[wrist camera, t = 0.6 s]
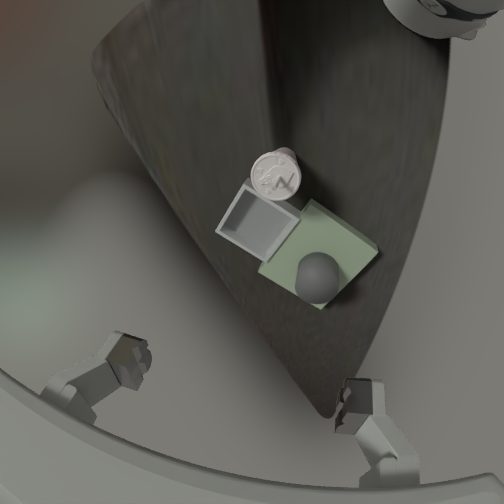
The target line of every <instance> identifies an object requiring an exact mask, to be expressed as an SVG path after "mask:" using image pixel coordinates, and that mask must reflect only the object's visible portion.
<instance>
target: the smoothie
mask: <svg viewBox="0 0 504 504" xmlns="http://www.w3.org/2000/svg"><path fill="white" fill-rule="evenodd" d="M251 181H252V185H253V187H254V189H255V190H256V191H257V192H258V193H259V194H260V195H261V196H262V197H264V198H266V199H269V200H272V201H282V200H286V199H288V198H290V197H291V196H293V195H294V194H295V193H296V191H297V190H298V188H299V185H300V183H301V171H300V168H299V166H298V164H297V159H296V155H295V153H294V152H293V151H292V150H291V149H289V148H279V149H277V150H276V151H274V152H270V153H266V154H264V155H262V156H261V157H260V158H258V159H257V160H256V162H255V163H254V165H253V168H252V171H251Z"/></svg>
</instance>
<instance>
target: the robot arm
mask: <svg viewBox="0 0 504 504" xmlns="http://www.w3.org/2000/svg"><path fill="white" fill-rule="evenodd" d="M383 1H384V3H385V5H386V6H387V8H388V9H389V11H390V12H391V13H392V14H393V16H394V17H395V18H396V19H397V20H398V21H400V22H401V23H402V24H403V25H404V26H406V27H407V28H409V29H410V30H412V31H414V32H416V33H418V34H420V35H423V36H426V37H430V38H436V39H444V38H450V37H458V38H461V39H465V40H472V39H474V38H475V36H476V33H477V30H478V29H480V28H482V27H484V26H485V25H486V23H485V21H486V18H489V17H491V16H492V15H494V14H495V13H497V12H498V11H499V10H502V9H504V0H383ZM147 346H148V343H147V340H145V339H141V338H138V337H135V336H131V335H128V334H126V333H122V332H119V331H114V332H112V334H111V335H110V336H109V338H108V339H107V341H106V342H105V344H104V345H103V347H102V348H101V349H100V351H99V352H98V354H97V355H96V356H91V357H89V358H87V359H85V360H83V361H81V362H79V363H77V364H75V365H73V366H71V367H69V368H67V369H65V370H63V371H61V372H59V373H57V374H55V375H53V377H52V378H51V379H50V381H49V382H48V384H47V385H46V387H45V388H44V390H43V391H42V392H41V394H40V395H38V394H37V393H35V392H34V391H32V390H31V389H29V388H27V387H26V386H24V385H23V384H22V383H20V382H19V381H17V380H16V379H14V378H13V377H11V376H10V375H9V374H7V373H6V372H5V371H3V370H2V369H1V368H0V504H504V484H503V483H502V482H501V481H500V480H499V479H498V477H497V476H495V475H494V474H493V473H483V474H479V475H474V476H470V477H465V478H460V479H455V480H449V481H442V482H436V483H428V484H420V481H419V480H420V478H419V455H418V454H417V452H416V451H415V450H414V448H413V447H412V446H411V444H410V443H409V441H408V440H407V439H406V437H405V436H404V435H403V433H402V432H401V430H400V429H399V428H398V426H397V425H396V424H395V422H394V421H393V420H392V418H391V417H390V416H389V415H388V416H387V415H386V400H385V386H384V381H383V380H376V379H367V378H352V377H346V378H345V380H344V382H343V387H342V388H340V391H339V394H338V397H337V404H336V410H337V412H338V415H337V417H336V419H335V432H334V433H340V434H352V435H354V436H355V438H356V440H357V442H358V444H359V445H360V447H361V449H362V451H363V453H364V455H365V457H366V459H367V461H368V463H369V464H370V466H371V469H370V470H369V471H368V472H366V473H365V474H364V475H363V476H361V477H360V479H359V488H347V487H324V486H323V487H322V486H311V485H300V484H291V483H284V482H276V481H270V480H263V479H258V478H252V477H247V476H242V475H237V474H232V473H228V472H223V471H219V470H215V469H211V468H207V467H203V466H200V465H196V464H193V463H190V462H186V461H183V460H180V459H176V458H173V457H170V456H167V455H164V454H162V453H159V452H156V451H153V450H150V449H148V448H145V447H142V446H140V445H137V444H135V443H132V442H130V441H127V440H125V439H123V438H120V437H118V436H116V435H113V434H111V433H109V432H107V431H105V430H102V429H100V428H98V427H96V426H94V425H93V424H94V422H95V420H96V418H97V416H96V414H95V413H94V411H93V410H92V409H91V407H92V406H93V405H95V404H96V403H97V402H99V401H100V400H102V399H103V398H105V397H106V396H108V395H109V394H111V393H112V392H114V391H115V390H117V389H118V388H119V387H121V386H124V387H127V388H130V389H133V390H136V391H137V390H138V388H139V387H140V385H141V383H142V381H143V374H144V373H146V372H147V371H148V370H149V368H150V366H151V362H152V355H151V352H150V351H149V350H148V349H147ZM120 385H121V386H120Z"/></svg>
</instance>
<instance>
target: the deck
mask: <svg viewBox="0 0 504 504" xmlns="http://www.w3.org/2000/svg"><path fill="white" fill-rule="evenodd" d="M215 232H217V233H218V234H220V235H222V236H223V237H225V238H226V239H228V240H230V241H231V242H233V243H235V244H236V245H238V246H239V247H241V248H243V249H244V250H246V251H248V252H249V253H251V254H252V255H254V256H256V257H257V258H259V259H261V260H262V261H263V262H262V263H261V265H260V268H259V271H258V272H259V273H261V274H262V275H264V276H266V277H267V278H269V279H271V280H272V281H274V282H276V283H277V284H279V285H281V286H282V287H284V288H285V289H287V290H289V291H290V292H292V293H294V294H295V295H297V296H299V297H300V298H301V299H302V300H304V301H305V302H308V303H311V304H312V305H314V306H316V307H317V308H319V309H322V308H323V307H324V306H325V305H326V304H327V303H328V302H329V301H331V300H332V299H333V298H334V297H335V296H336V295H337V294H338V293H339V292H340V291H341V290H342V289H343V288H344V287H345V286H346V285H347V284H348V283H349V282H350V281H351V280H352V279H353V278H354V277H355V276H356V275H357V274H358V273H359V272H360V271H361V270H362V269H363V268H364V267H365V266H366V265H367V264H368V263H369V262H370V261H371V260H372V259H373V258H374V256H375V255H376V254H377V253H378V248H377V245H376V244H375V243H374V242H372V241H371V240H370V239H368V238H367V237H366V236H364V235H363V234H361V233H360V232H359V231H357V230H356V229H355V228H353V227H352V226H350V225H349V224H348V223H346V222H345V221H343V220H342V219H341V218H339V217H338V216H336V215H335V214H333V213H332V212H331V211H329V210H328V209H326V208H325V207H323V206H322V205H320V204H319V203H317V202H316V201H315V200H313V199H312V198H311V199H310V201H309V202H308V203H307V204H306V206H305V207H304V208H303V210H302V211H300V210H298V209H297V208H295V207H294V206H292V205H290V204H289V203H287V202H286V201H284V200H282V201H272V200H269V199H266V198H264V197H262V196H261V195H260V194H259V193H258V192H257V191H256V190H255V189H254V187H253V185H252V181H251V179H249V178H247V180H246V181H245V182H244V184H243V185H242V187H241V189H240V190H239V192H238V194H237V195H236V197H235V199H234V200H233V202H232V204H231V205H230V207H229V209H228V210H227V212H226V214H225V215H224V217H223V219H222V220H221V222H220V224H219V225H218V227H217V229H216V230H215Z"/></svg>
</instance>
